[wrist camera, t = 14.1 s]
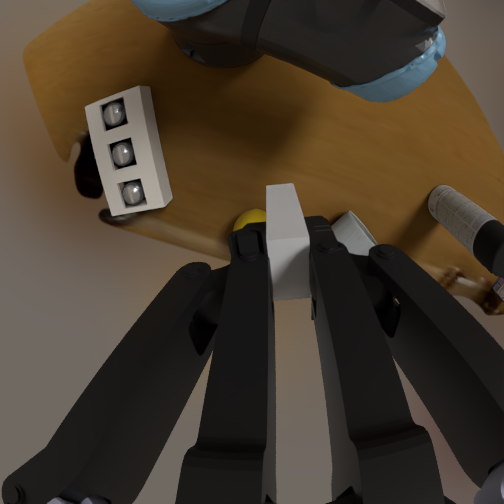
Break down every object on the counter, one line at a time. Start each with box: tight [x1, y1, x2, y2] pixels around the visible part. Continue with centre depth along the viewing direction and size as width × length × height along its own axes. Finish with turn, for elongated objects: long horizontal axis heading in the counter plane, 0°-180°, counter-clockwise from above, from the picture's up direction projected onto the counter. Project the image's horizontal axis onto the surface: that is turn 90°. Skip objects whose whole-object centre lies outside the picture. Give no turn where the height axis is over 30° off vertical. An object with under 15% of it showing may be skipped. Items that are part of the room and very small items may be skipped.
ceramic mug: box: [331, 211, 377, 256], centre depth 43 cm, size 11×8×8 cm
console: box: [85, 86, 173, 216], centre depth 38 cm, size 19×10×4 cm, turn 8°
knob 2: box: [122, 178, 145, 205], centre depth 40 cm, size 4×4×4 cm
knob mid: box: [112, 139, 136, 166], centre depth 37 cm, size 4×4×4 cm
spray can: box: [428, 185, 504, 278], centre depth 32 cm, size 7×7×20 cm
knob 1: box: [103, 102, 128, 126], centre depth 34 cm, size 4×4×4 cm
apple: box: [233, 208, 266, 232], centre depth 41 cm, size 6×6×8 cm
